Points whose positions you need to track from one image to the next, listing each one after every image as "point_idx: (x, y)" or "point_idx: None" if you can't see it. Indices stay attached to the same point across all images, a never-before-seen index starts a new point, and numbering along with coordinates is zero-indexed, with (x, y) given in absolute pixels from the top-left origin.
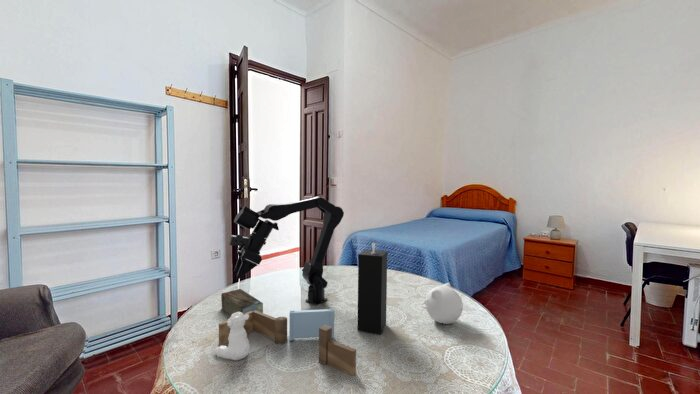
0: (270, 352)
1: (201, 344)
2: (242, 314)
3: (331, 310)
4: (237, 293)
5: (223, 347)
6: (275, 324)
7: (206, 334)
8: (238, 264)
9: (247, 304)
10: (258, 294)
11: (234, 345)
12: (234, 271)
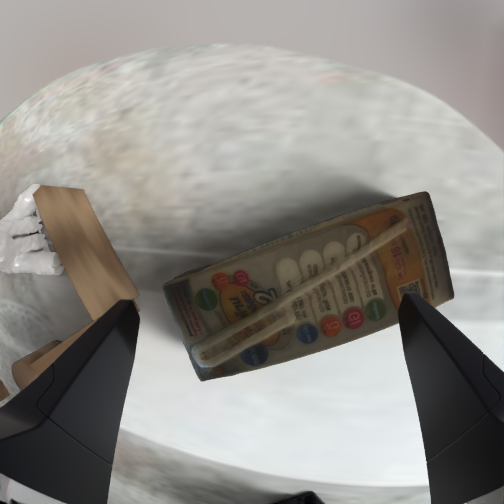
0: (24, 315)
1: (100, 139)
2: None
3: None
4: (384, 279)
5: (15, 207)
6: (22, 358)
7: (157, 143)
8: (439, 367)
9: (202, 315)
10: None
11: None
12: (406, 297)
